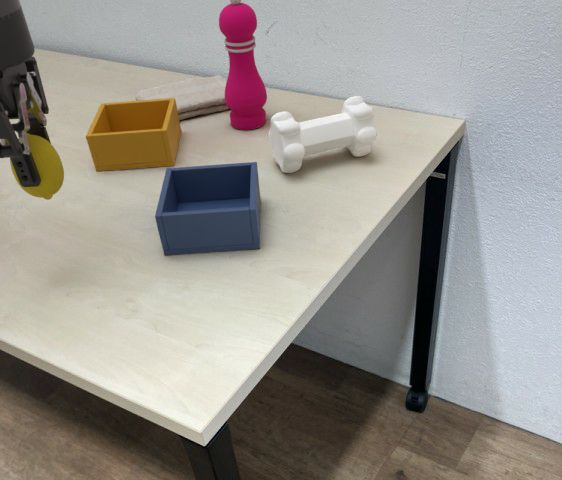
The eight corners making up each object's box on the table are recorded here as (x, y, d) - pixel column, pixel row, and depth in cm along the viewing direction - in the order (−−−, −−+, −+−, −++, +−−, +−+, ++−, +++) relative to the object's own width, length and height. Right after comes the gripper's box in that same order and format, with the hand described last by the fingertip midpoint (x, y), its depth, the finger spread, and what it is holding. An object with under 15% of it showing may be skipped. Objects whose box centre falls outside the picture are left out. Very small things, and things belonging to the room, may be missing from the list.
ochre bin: (96, 171, 98) (85, 136, 93) (110, 137, 106) (100, 103, 102) (173, 165, 97) (166, 130, 93) (181, 131, 106) (175, 97, 102)
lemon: (38, 216, 70) (12, 149, 64) (17, 199, 73) (-9, 134, 67) (80, 198, 73) (59, 132, 67) (58, 182, 76) (36, 118, 70)
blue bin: (164, 255, 80) (154, 216, 75) (174, 205, 88) (166, 168, 84) (260, 249, 79) (255, 209, 75) (260, 199, 88) (256, 161, 84)
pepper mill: (253, 110, 110) (241, -18, 96) (277, 122, 106) (267, -10, 92) (220, 122, 108) (202, -7, 93) (242, 135, 103) (227, 1, 89)
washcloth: (246, 106, 112) (245, 89, 109) (152, 129, 107) (148, 111, 105) (225, 85, 119) (223, 69, 117) (136, 106, 115) (132, 89, 113)
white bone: (355, 139, 99) (356, 87, 94) (378, 161, 94) (381, 108, 88) (268, 158, 97) (264, 107, 91) (287, 183, 91) (283, 129, 85)
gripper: (-34, -11, 63) (24, 145, 75) (-90, 34, 53) (-13, 206, 65) (37, -16, 63) (84, 142, 75) (-6, 28, 53) (56, 202, 65)
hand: (38, 171), depth 70 cm, fingers closed on lemon, 5 cm apart
